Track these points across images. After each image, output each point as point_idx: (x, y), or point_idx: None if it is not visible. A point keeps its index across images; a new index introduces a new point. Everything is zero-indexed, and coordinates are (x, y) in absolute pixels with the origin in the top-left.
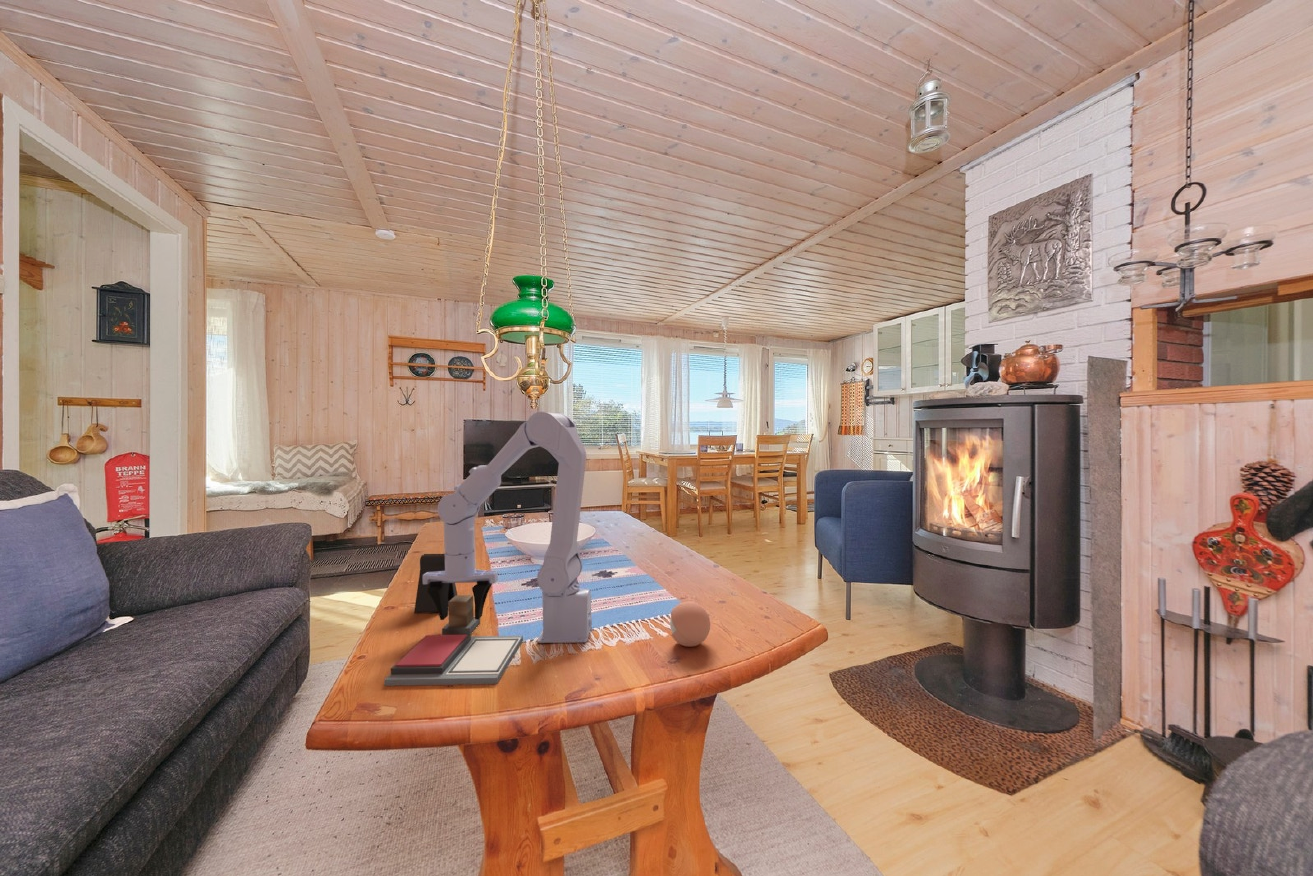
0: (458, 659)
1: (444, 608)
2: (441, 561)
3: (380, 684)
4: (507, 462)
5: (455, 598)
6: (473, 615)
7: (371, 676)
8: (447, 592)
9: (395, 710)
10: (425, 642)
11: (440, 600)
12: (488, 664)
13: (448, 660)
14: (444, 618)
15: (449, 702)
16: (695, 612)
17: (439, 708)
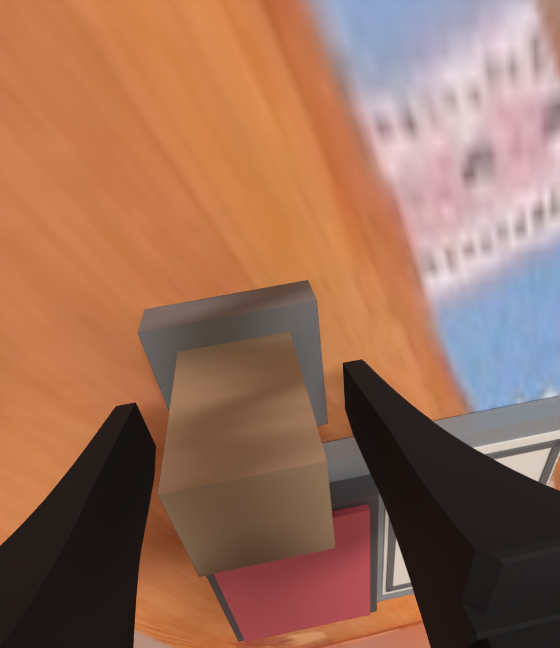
0: (385, 555)
1: (134, 487)
2: None
3: (222, 612)
4: None
5: (207, 532)
6: (293, 347)
7: (166, 606)
8: (75, 554)
9: (324, 634)
10: (238, 573)
11: (134, 600)
12: None
13: (376, 593)
14: (150, 438)
15: (416, 603)
16: None
17: (404, 614)
